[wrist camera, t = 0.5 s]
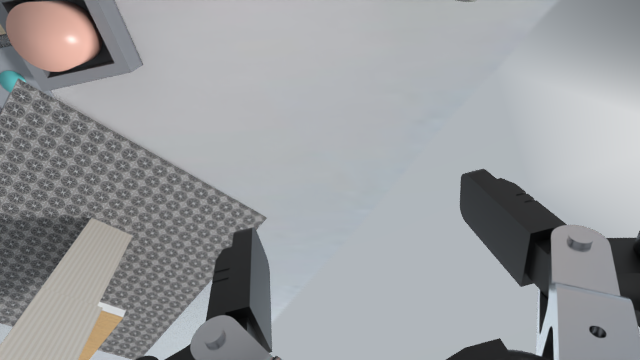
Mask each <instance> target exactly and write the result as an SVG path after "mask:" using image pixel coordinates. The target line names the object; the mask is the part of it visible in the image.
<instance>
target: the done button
mask: <svg viewBox="0 0 640 360" xmlns="http://www.w3.org/2000/svg"><path fill="white" fill-rule="evenodd" d="M6 31H7V35H8V38H9V40H10V42H11V44H12V46H13V47H14V49H15V50H16V51H17V52H18V54H19V55H20V56H21V57H22V58H24V59H25V60H26V61H27V62H29V63H30V64H32V65H34V66H36V67H38V68H40V69H43V70H46V71H52V72H60V71H65V70H68V69H71V68H73V67H76V66H78V65H80V64H83V63H85V62H88V61H90V60H92V59H94V58H95V57H96V56H97V55H98V54H99V52H100V50H101V47H102V36H101V34H100V32H99V30H98V28H97V26H96V24H95V22H94V20H93V18H92V16H91V15H90V14H89V13H88V12H87V11H86V10H84V9H83V8H81V7H80V6H78V5H76V4H74V3H71V2H68V1H38V2H25V3H21V4H19V5H17V6H15V7H14V8H13V9H12V10H11V11H10V12H9V14H8V16H7V20H6Z"/></svg>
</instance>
